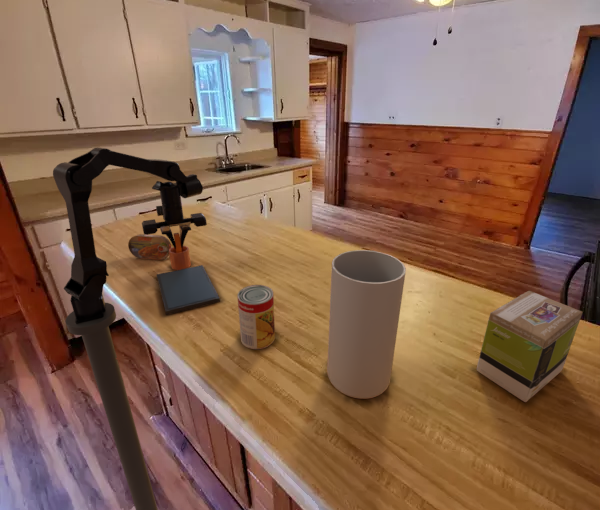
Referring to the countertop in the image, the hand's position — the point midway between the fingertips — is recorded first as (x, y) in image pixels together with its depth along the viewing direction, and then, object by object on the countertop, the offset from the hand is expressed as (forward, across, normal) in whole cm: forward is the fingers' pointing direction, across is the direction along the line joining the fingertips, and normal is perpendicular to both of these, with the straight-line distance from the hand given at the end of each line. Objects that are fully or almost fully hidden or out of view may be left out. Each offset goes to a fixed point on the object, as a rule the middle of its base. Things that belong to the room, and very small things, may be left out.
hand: (178, 247), depth 109 cm
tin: (+7, +8, -11) cm, 15 cm away
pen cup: (+6, 0, 0) cm, 6 cm away
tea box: (+7, -54, +80) cm, 97 cm away
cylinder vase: (+7, -24, +66) cm, 71 cm away
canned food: (+7, -10, +46) cm, 48 cm away
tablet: (+6, +1, +16) cm, 17 cm away
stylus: (+6, 0, 0) cm, 6 cm away
